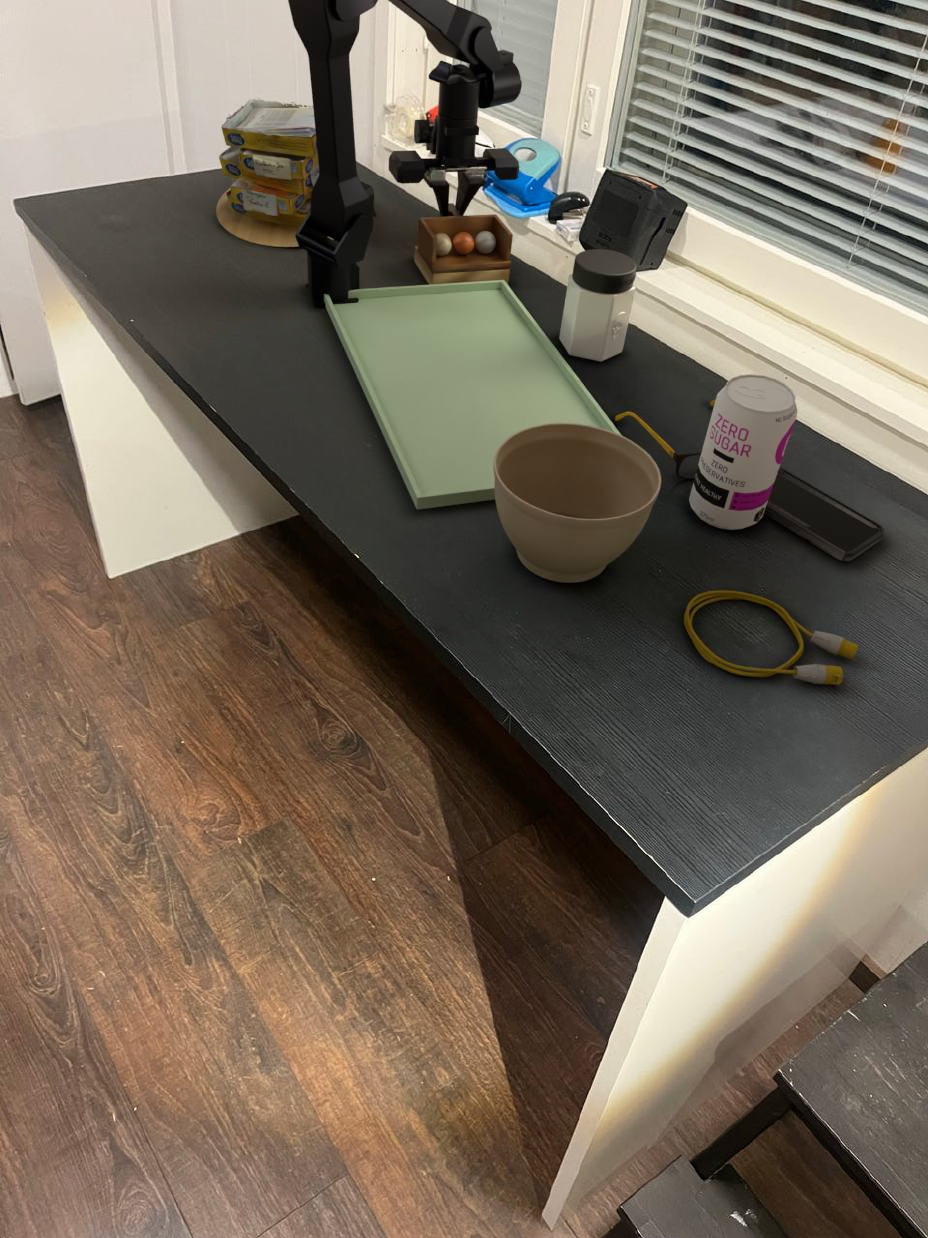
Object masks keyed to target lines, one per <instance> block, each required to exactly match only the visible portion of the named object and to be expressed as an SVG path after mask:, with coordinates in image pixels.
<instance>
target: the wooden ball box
mask: <svg viewBox="0 0 928 1238" xmlns="http://www.w3.org/2000/svg"><path fill="white" fill-rule="evenodd" d="M417 226H418V227H417V228H418V229H417V246H418V248H417V251H418V252H419V254H420V256H421V257H422V259H423V260H424V262H425V263H426V265H427V266H428V268H429V269H430V271H431V273H432V274H442V273H458V272H475V271H491V270H507V269H510V270H511V269H512V261H511V254H512V248H513V247H512V246H513V236H514V234H513V233H512V231H511V230H510V229H509V228H508V227H507V226H506V224H505V223H504V222H503V221H502V220H501V218H500V217H499V216H498V215H497V214H474V215H463V216H461V215H460V214H459V210H458V209H457V208H456V206H455V204H454V203H453V202H449V207H448V216H447V217H441V216H428V217H427V216H426V217H418V225H417ZM482 231H489V232H491V233H492V234H493V235H494V237H495V239H496V245H495V248H494V250H493V251H492V252H490V253H488V254H483V253H480V252H479V251H478V250H477V249H476V247H475V238H476V236H477V235H478V234H479V233H480V232H482ZM460 232H466V233H468V234H470V235H471V236H472V238H473V240H474V247H473V249H472V251H471V252H470V253H469V254H466V255H460V254H458V253H457V252H456V251H455V250H454V248H453V239H454V237H455V236H456V235H457V234H458V233H460ZM438 233H443V234H446V235H447V236H448V237H449V238H450V240H451V243H452V246H451V250H450V252H449V253H448V254H447V255H445V256H437V255H436V248H437V238H436V236H435V235H436V234H438Z"/></svg>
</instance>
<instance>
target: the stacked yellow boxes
mask: <svg viewBox="0 0 928 1238" xmlns="http://www.w3.org/2000/svg"><path fill="white" fill-rule="evenodd" d="M221 131H222V135H223V139H224V143H225V145H226V147H227V146H228V148H227V149H225V150H224V151H222V152H221V153H220V155H219V156H218V159H219V163H220V166H221V170H222V174H223V175H224V176H227V177H230V178H234V179H235V180H234V181H233V182H232V184H230V187H229V188H228V189H226V191H224V193H223V194H222V195H221V196H220V198H219V200H218V201H217V204H216V209H215V213H216V214H215V215H216V218H217V221H218V222H219V224H220V225H221V226H222V227H223V228H224V229H225V230H226V231H227V232H228V233H229V234H230V235H233V236H235V237H236V238H239V239H241V240H244V241H246V242H248V243H254V244H257V245H263V246H269V247H278V248H290V247H291V248H295V247H299V245H298V243H297V240H296V237H295V234H296V232H297V231H298V229H299V228H300V226H301V224H302V223H303V221H304V219H305V218H306V216H307V215H308V213H309V211H310V210H311V191H312V189H313V187H314V185H315V183H316V180H317V178H318V176H319V163H318V152H317V142H316V131H315V120H314V110H313V105H308V106H307V105H306V104H303V105H302V104H296V102H293V101H291V103H286V102H285V103H283V102H281V101H280V102H279V101H274V100H273V101H271V100H266V101H265V100H263V99H260V97H258V98H254V99H253V98H252V99H248V100H247V102H246V103H245V104H244V105H241V106H240V107H239V109H237V110H236V111H235V112H233V113H232V115H228V117H226V120H225V121H224V123H223V124H221ZM328 238H330V237H328ZM330 239H332V238H330ZM332 240H334V239H332ZM334 241H335V240H334Z"/></svg>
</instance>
